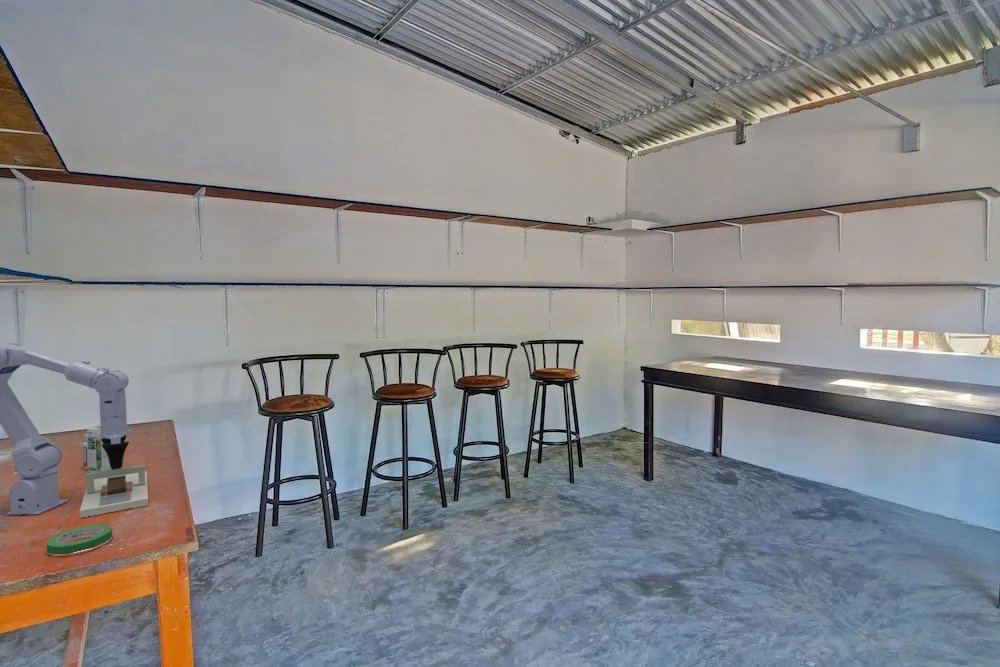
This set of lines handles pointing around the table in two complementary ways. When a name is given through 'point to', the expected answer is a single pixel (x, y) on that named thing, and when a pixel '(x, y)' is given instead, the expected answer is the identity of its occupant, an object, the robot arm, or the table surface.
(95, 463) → the syrup box
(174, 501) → the table surface
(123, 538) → the table surface
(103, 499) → the puzzle board
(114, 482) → the walnut block
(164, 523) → the table surface
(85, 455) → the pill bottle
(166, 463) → the table surface
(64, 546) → the tape roll
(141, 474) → the sliding bridge
